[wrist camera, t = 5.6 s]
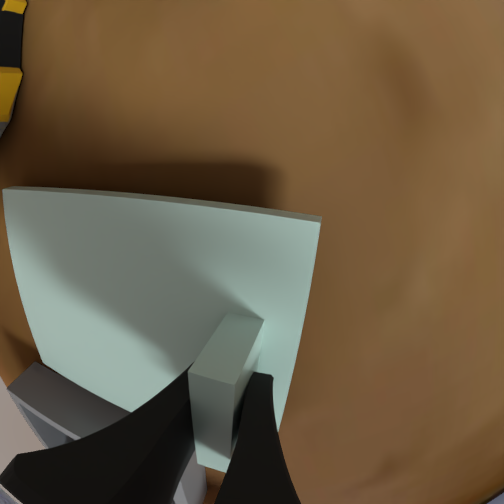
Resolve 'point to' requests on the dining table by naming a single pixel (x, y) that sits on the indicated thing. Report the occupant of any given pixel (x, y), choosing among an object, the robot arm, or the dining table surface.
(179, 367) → the lid
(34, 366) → the tub
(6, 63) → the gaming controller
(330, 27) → the dining table surface
